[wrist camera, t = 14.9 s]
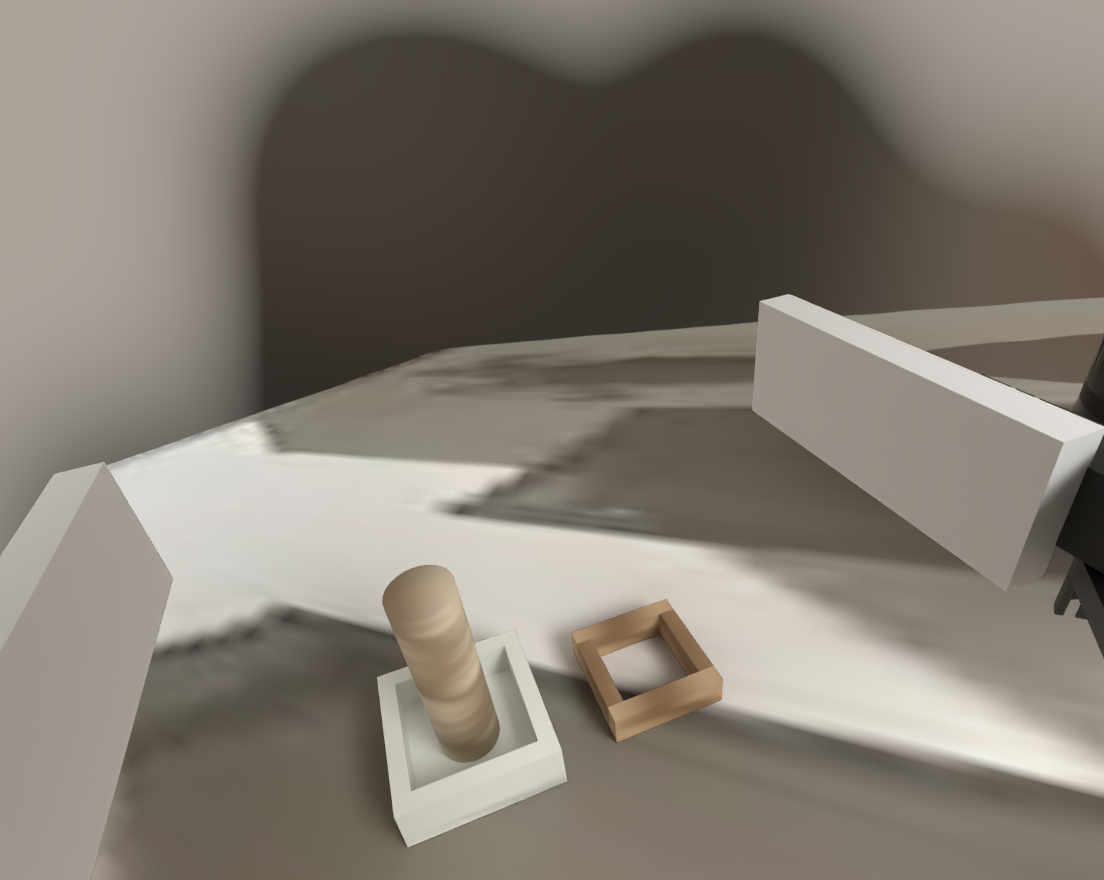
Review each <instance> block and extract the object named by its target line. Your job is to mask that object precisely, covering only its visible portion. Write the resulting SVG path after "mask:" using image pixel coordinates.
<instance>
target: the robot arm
mask: <svg viewBox="0 0 1104 880" xmlns="http://www.w3.org/2000/svg"><path fill="white" fill-rule="evenodd" d="M759 305H760V306H759V318H758V319H759V320H758V332H757V347H756V361H755V376H754V390H753V404H752V410H753V411H754V412H756V413H757V414H758V415H760V416H761V417H762V418H764V419H765V420H767V421H768V422H769V423H771V424H772V425H774V426H775V427H776V428H778V429H779V430H781V431H782V432H783V433H785V434H786V435H788V436H789V437H790V438H792V439H793V440H795V441H796V442H797V443H799V444H800V445H802V446H803V447H804V448H806V449H807V450H809V451H810V452H811V453H813V454H814V455H816V456H817V457H818V458H820V459H821V460H823V461H824V462H825V463H827V464H828V465H830V466H831V467H832V468H834V469H835V470H837V471H838V472H839V473H841V474H842V475H844V476H845V477H846V478H848V479H849V480H851V481H852V482H853V483H855V484H856V485H858V486H859V487H860V488H862V489H863V490H865V491H866V492H867V493H869V494H870V495H871V496H873V497H874V498H876V499H877V500H878V501H880V502H881V503H883V504H884V505H885V506H887V507H888V508H890V509H891V510H892V511H894V512H895V513H897V514H898V515H899V516H901V517H902V518H904V519H905V520H906V521H908V522H909V523H911V524H912V525H913V526H915V527H916V528H918V529H919V530H920V531H922V532H923V533H925V534H926V535H927V536H929V537H930V538H932V539H933V540H934V541H936V542H937V543H939V544H940V545H941V546H943V547H944V548H946V549H947V550H948V551H950V552H951V553H953V554H954V555H955V556H957V557H958V558H960V559H961V560H962V561H964V562H965V563H967V564H968V565H969V566H971V567H972V568H973V569H975V570H976V571H978V572H979V573H980V574H982V575H983V576H985V577H986V578H987V579H989V580H990V581H992V582H993V583H994V584H996V585H997V586H999V587H1000V588H1001V589H1003V590H1004V591H1006V592H1007V591H1009V590H1012V589H1014V588H1017V587H1019V586H1022V585H1024V584H1026V583H1029V582H1031V581H1034V580H1036V579H1039V578H1041V577H1043V576H1044V574H1045V572H1046V569H1047V567H1048V565H1049V562H1050V560H1051V557H1052V555H1053V553H1054V550H1055V548H1056V546H1058V547H1060V548H1061V549H1063V550H1065V551H1066V552H1068V553H1070V554H1071V555H1073V556H1075V558H1074V561H1073V563H1072V565H1071V567H1070V569H1069V572H1068V574H1067V576H1066V578H1065V581H1064V583H1063V585H1062V587H1061V589H1060V592H1059V594H1058V596H1057V598H1056V601H1055V603H1054V614H1057V615H1064V612H1065V610H1066V608H1067V606H1068V604H1069V602H1070V600H1072V599H1079V601H1080V603H1081V605H1080V607H1079V609H1078V611H1077V613H1076V615H1075V617H1076V618H1081V619H1087V620H1088V622H1089V625H1090V627H1091V629H1092V632H1093V634H1094V636H1095V639H1096V641H1097V644H1098V646H1099V648H1100V651H1101V653H1102V655H1103V658H1104V334H1103V336H1102V339H1101V341H1100V344H1099V346H1098V348H1097V351H1096V354H1095V356H1094V358H1093V361H1092V363H1091V366H1090V368H1089V371H1088V373H1087V376H1086V379H1085V382H1084V384H1083V387H1082V390H1081V392H1080V394H1079V397H1078V399H1077V401H1076V402H1075V404H1074V405H1073V406H1072V407H1071V408H1070V409H1069V410H1066V409H1064V408H1062V407H1059V406H1057V405H1054V404H1052V403H1050V402H1047V401H1045V400H1043V399H1037V398H1035V397H1034V396H1033V395H1031V394H1028V393H1026V392H1023V391H1021V390H1019V389H1013V388H1011V386H1009V385H1007V384H1004V383H1002V382H1000V381H997V380H995V379H992V378H990V377H988V376H985V375H983V374H978V373H975V372H973V371H971V370H968V369H966V368H963V367H961V366H958V365H956V364H954V363H952V362H949V361H947V360H945V359H942V358H940V357H937V356H935V355H933V354H930V353H928V352H925V351H923V350H921V349H918V348H916V347H914V346H911V345H909V344H906V343H904V342H902V341H899V340H897V339H895V338H892V337H890V336H887V335H885V334H883V333H880V332H878V331H876V330H873V329H871V328H868V327H866V326H864V325H861V324H859V323H857V322H854V321H852V320H849V319H847V318H845V317H842V316H840V315H838V314H835V313H833V312H830V311H828V310H826V309H823V308H821V307H819V306H816V305H814V304H811V303H809V302H806V301H804V300H802V299H799V298H797V297H795V296H792V295H790V294H788V295H784V296H780V297H776V298H772V299H767V300H763V301H760V304H759ZM172 580H173V577H172V575H171V574H170V572H169V570H168V569H167V567H166V565H165V564H164V562H163V560H162V559H161V557H160V555H159V554H158V552H157V550H156V548H155V547H154V545H153V543H152V542H151V540H150V538H149V537H148V535H147V533H146V532H145V530H144V528H143V527H142V525H141V523H140V522H139V520H138V518H137V516H136V515H135V513H134V511H133V510H132V508H131V506H130V505H129V503H128V501H127V500H126V498H125V496H124V495H123V493H122V491H121V490H120V488H119V486H118V485H117V483H116V481H115V479H114V478H113V476H112V474H111V473H110V471H109V469H108V468H107V466H106V464H105V463H104V462H102V463H98V464H94V465H90V466H86V467H81V468H77V469H73V470H69V471H65V472H61V473H57V474H54V475H53V477H52V478H51V480H50V481H49V483H48V485H47V486H46V488H45V489H44V490H43V492H42V494H41V495H40V497H39V499H38V500H37V501H36V503H35V504H34V506H33V507H32V509H31V510H30V512H29V513H28V515H27V516H26V518H25V520H24V521H23V522H22V524H21V526H20V527H19V529H18V530H17V532H16V533H15V535H14V536H13V538H12V539H11V541H10V542H9V544H8V545H7V547H6V548H5V550H4V551H3V553H2V554H1V556H0V880H91V877H92V873H93V870H94V866H95V862H96V859H97V855H98V851H99V848H100V844H101V840H102V837H103V833H104V829H105V826H106V822H107V818H108V815H109V811H110V807H111V804H112V800H113V796H114V793H115V789H116V785H117V782H118V778H119V774H120V771H121V767H122V763H123V760H124V756H125V752H126V749H127V745H128V741H129V738H130V734H131V731H132V727H133V723H134V720H135V716H136V712H137V709H138V705H139V701H140V698H141V694H142V690H143V687H144V683H145V679H146V676H147V672H148V668H149V665H150V661H151V657H152V654H153V650H154V646H155V643H156V639H157V635H158V632H159V628H160V624H161V621H162V617H163V613H164V610H165V606H166V602H167V599H168V595H169V591H170V588H171V584H172Z"/></svg>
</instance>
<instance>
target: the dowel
mask: <svg viewBox="0 0 1104 880" xmlns="http://www.w3.org/2000/svg"><path fill="white" fill-rule="evenodd" d="M382 602H383V607H384V610H385V612H386V614H387V617H388V619H389V622H390V624H391V627H392V629H393V631H394V634H395V636H396V639H397V641H398V644H399V646H400V648H401V651H402V653H403V656H404V658H405V661H406V663H407V665H408V668H409V670H410V673H411V675H412V678H413V680H414V682H415V685H416V687H417V690H418V692H419V695H420V697H421V699H422V702H423V704H424V707H425V709H426V712H427V714H428V716H429V719H430V721H431V724H432V726H433V729H434V731H435V733H436V736H437V738H438V741H439V743H440V746H441V748H442V750H443V752H444V754H445V755H446V756H447V757H448V758H450V759H451V760H453V761H456V762H460V763H468V762H473V761H476V760H478V759H480V758H482V757H484V756H485V755H486V754H488V753H489V752H490V751H491V750H492V748H493V747H494V746H495V744H496V742H497V740H498V737H499V733H500V724H499V720H498V717H497V714H496V711H495V708H494V704H493V701H492V698H491V695H490V692H489V688H488V685H487V682H486V679H485V676H484V672H483V669H482V666H481V663H480V660H479V656H478V653H477V650H476V647H475V644H474V640H473V637H472V634H471V631H470V628H469V624H468V621H467V618H466V615H465V612H464V608H463V605H462V602H461V599H460V596H459V592H458V589H457V586H456V583H455V580H454V577H453V575H452V574H451V572H450V571H448V570H447V569H445V568H443V567H440V566H436V565H424V566H418V567H415V568H412V569H409V570H407V571H405V572H403V573H402V574H400V575H399V576H397V577H396V578H395V579H394V580H393V581H392V582H391V583H390V584H389V585H388V587H387V588H386V590H385V592H384V595H383V600H382Z"/></svg>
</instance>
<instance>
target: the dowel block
mask: <svg viewBox="0 0 1104 880" xmlns="http://www.w3.org/2000/svg"><path fill="white" fill-rule="evenodd" d="M659 634H661V636H662V637H663V639H664V640H665V642H666V643H667V645H668V646H669V648H670V650H671V651H672V653H673V654H674V656H675V657H676V659H677V660H678V662H679V663H680V665H681V666H682V668H683V669H684V671H685V673H686V674H687V676H686V677H684V678H681V679H679V680H676V681H674V682H671V683H669V684H666V685H663V686H661V687H658V688H656V689H653V690H651V691H648V692H646V693H643V694H640V695H638V696H635V697H633V698H630V699H628V700H625V701H623V699H622V697H621V695H620V693H619V691H618V690H617V688H616V686H615V684H614V682H613V680H612V678H611V676H610V674H609V672H608V670H607V668H606V666H605V665H604V663H603V661H602V659H601V657H600V656H603V655H605V654H608V653H611V652H613V651H616V650H619V649H621V648H624V647H627V646H630V645H632V644H635V643H638V642H640V641H643V640H646V639H648V638H651V637H654V636H656V635H659ZM572 641H573V648H574V654H575V656H576V658H577V660H578V662H579V664H580V666H581V668H582V670H583V672H584V675H585V677H586V679H587V681H588V683H589V685H590V687H591V689H592V691H593V693H594V695H595V698H596V700H597V702H598V704H599V706H600V708H601V710H602V712H603V714H604V716H605V719H606V721H607V723H608V725H609V727H610V729H611V731H612V733H613V735H614V737H615V740H616V742H619V741H622V740H624V739H626V738H629V737H631V736H634V735H636V734H639V733H641V732H644V731H646V730H648V729H651V728H653V727H656V726H658V725H661V724H663V723H666V722H668V721H671V720H673V719H675V718H678V717H680V716H683V715H685V714H688V713H690V712H693V711H695V710H697V709H700V708H702V707H705V706H707V705H710V704H712V703H715V702H717V701H720V700H721V699H722V681H723V679H722V677H721V676H720V674H719V673H718V672H717V670H716V669H715V667H714V666H713V664H712V663H711V662H710V660H709V659H708V657H707V656H706V655H705V653H704V652H703V650H702V649H701V648H700V646H699V645H698V643H697V642H696V640H695V639H694V638H693V636H692V635H691V633H690V632H689V631H688V629H687V628H686V626H685V625H684V624H683V622H682V621H681V619H680V618H679V616H678V615H677V614H676V612H675V611H674V609H673V608H672V607H671V605H670V604H669V602H668V601H667V600H666V599H664V600H662V601H659V602H656V603H653V604H650V605H648V606H645V607H642V608H639V609H636V610H634V611H631V612H628V613H625V614H622V615H620V616H617V617H614V618H611V619H609V620H606V621H603V622H600V623H597V624H595V625H592V626H589V627H586V628H583V629H581V630H578V631H575V632H572Z"/></svg>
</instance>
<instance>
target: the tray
mask: <svg viewBox="0 0 1104 880" xmlns="http://www.w3.org/2000/svg"><path fill="white" fill-rule="evenodd" d="M474 644H475V647H476V650H477V653H478V656H479V660H480V663H481V666H482V669H483V672H484V676H485V679H486V682H487V685H488V688H489V692H490V695H491V698H492V701H493V704H494V708H495V711H496V714H497V717H498V720H499V724H500V733H499V737H498V740H497V742H496V744H495V746H494V747H493V748H492V750H491V751H490V752H489V753H488V754H486V755H485V756H484V757H482V758H480V759H478V760H476V761H473V762H468V763H460V762H456V761H453V760H451V759H450V758H448V757H447V756H446V755H445V754H444V752H443V750H442V748H441V746H440V743H439V741H438V738H437V736H436V733H435V731H434V729H433V726H432V724H431V721H430V719H429V716H428V714H427V712H426V709H425V707H424V704H423V702H422V699H421V697H420V695H419V692H418V690H417V687H416V685H415V682H414V680H413V678H412V675H411V673H410V670H409V668H408V666H407V667H405V668H402V669H399V670H396V671H393V672H390V673H387V674H384V675H382V676H379V677H377V681H378V690H379V698H380V706H381V715H382V723H383V731H384V739H385V748H386V756H387V764H388V773H389V781H390V789H391V797H392V806H393V814H394V819H395V821H396V823H397V825H398V827H399V830H400V832H401V834H402V836H403V838H404V840H405V842H406V845H407V847H410V846H413V845H415V844H417V843H420V842H422V841H425V840H427V839H429V838H432V837H434V836H437V835H439V834H441V833H444V832H446V831H449V830H451V829H454V828H456V827H458V826H461V825H463V824H466V823H468V822H470V821H473V820H475V819H478V818H480V817H482V816H485V815H487V814H490V813H492V812H494V811H497V810H499V809H502V808H504V807H506V806H509V805H511V804H514V803H516V802H518V801H521V800H523V799H526V798H528V797H531V796H533V795H535V794H538V793H540V792H543V791H545V790H547V789H550V788H552V787H555V786H557V785H559V784H562V783H564V782H567V778H566V772H565V766H564V760H563V755H562V750H561V747H560V744H559V742H558V739H557V737H556V734H555V732H554V729H553V726H552V724H551V721H550V719H549V716H548V713H547V711H546V708H545V706H544V703H543V701H542V698H541V695H540V693H539V690H538V688H537V685H536V683H535V680H534V677H533V675H532V672H531V670H530V667H529V664H528V662H527V659H526V657H525V654H524V652H523V649H522V646H521V644H520V641H519V639H518V636H517V634H516V631H515V629H514V630H511V631H508V632H505V633H502V634H499V635H496V636H494V637H491V638H488V639H485V640H482V641H479V642H476V643H474Z"/></svg>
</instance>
